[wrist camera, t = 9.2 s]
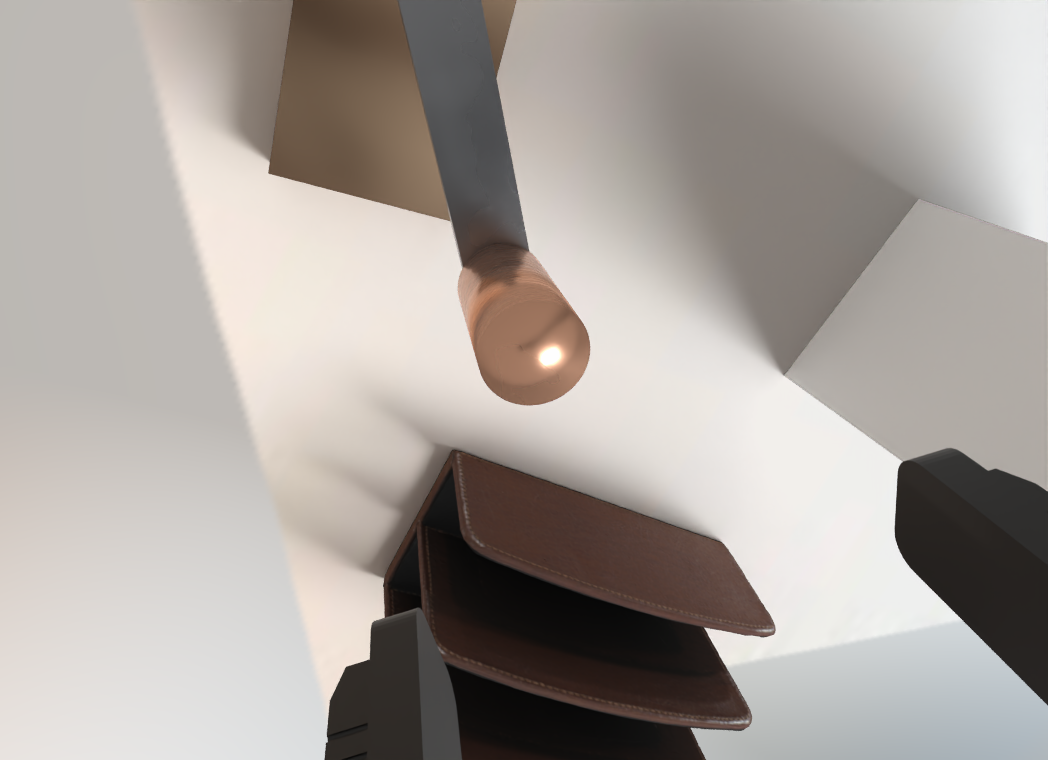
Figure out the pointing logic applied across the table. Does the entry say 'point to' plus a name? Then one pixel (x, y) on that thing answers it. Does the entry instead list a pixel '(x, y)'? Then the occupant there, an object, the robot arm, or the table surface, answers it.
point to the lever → (489, 211)
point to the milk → (942, 345)
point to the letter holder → (571, 619)
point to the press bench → (361, 103)
